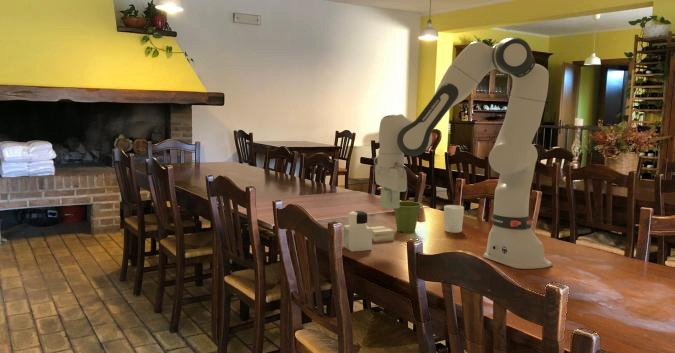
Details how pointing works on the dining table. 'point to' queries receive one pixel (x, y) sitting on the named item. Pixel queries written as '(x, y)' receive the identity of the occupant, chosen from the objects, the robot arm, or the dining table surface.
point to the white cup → (453, 218)
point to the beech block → (382, 234)
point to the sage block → (388, 199)
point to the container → (357, 232)
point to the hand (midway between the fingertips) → (390, 201)
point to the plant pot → (407, 216)
